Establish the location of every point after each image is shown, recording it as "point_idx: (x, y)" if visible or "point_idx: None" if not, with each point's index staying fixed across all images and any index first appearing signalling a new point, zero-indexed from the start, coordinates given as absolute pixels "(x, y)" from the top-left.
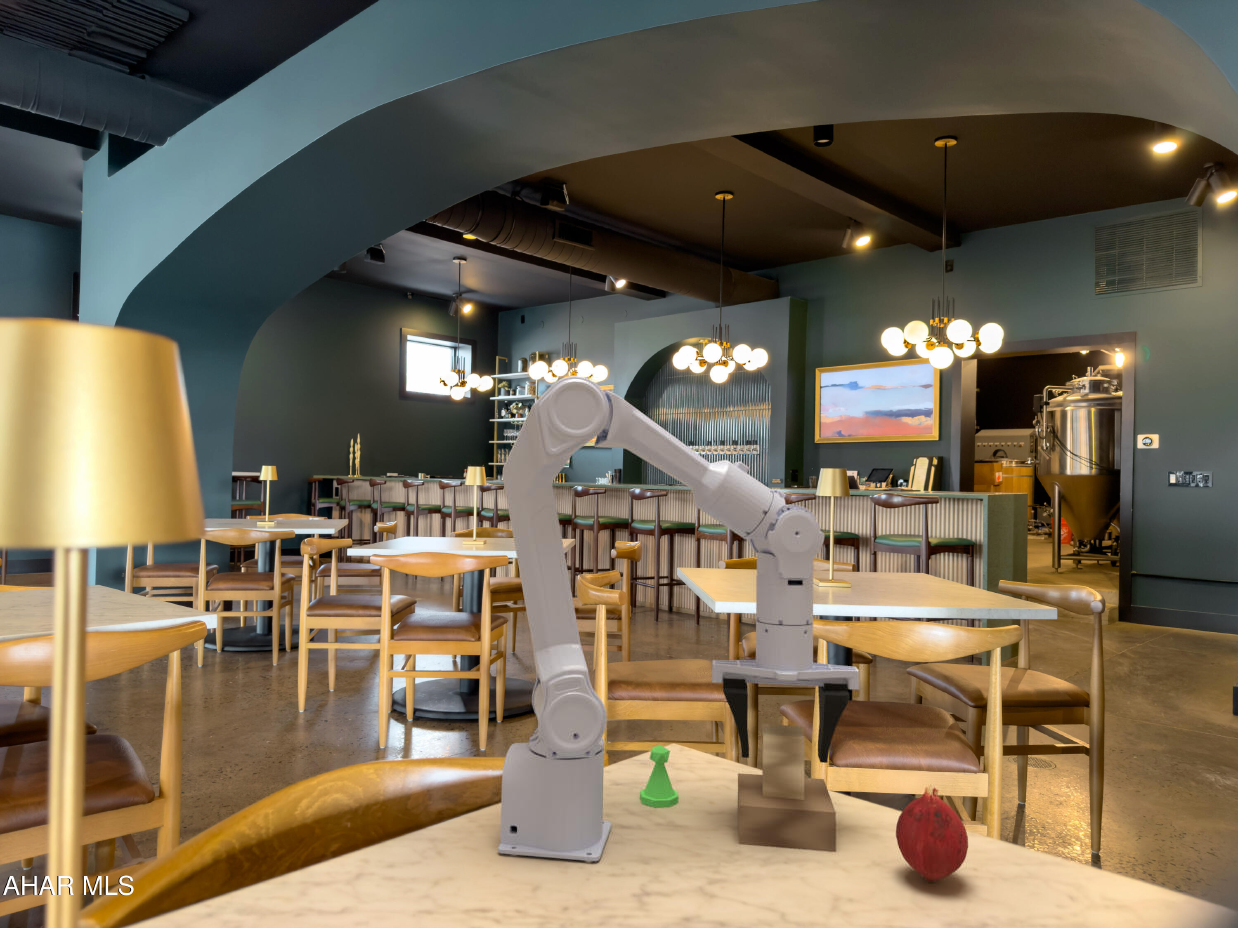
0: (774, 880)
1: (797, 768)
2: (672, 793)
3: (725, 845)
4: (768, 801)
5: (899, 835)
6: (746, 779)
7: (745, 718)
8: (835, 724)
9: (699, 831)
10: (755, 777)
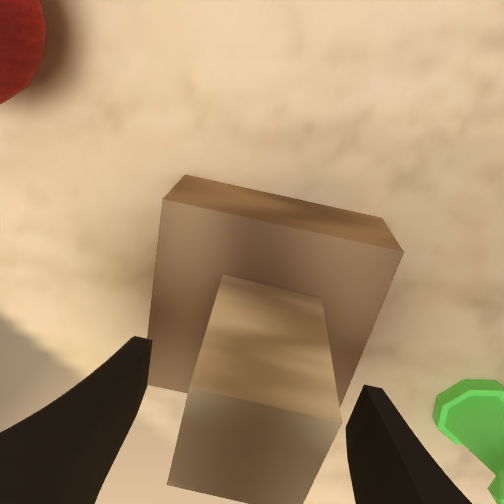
0: (366, 37)
1: (229, 322)
2: (456, 410)
3: (413, 212)
4: (316, 272)
5: (23, 8)
6: None
7: (425, 494)
8: (42, 410)
9: (444, 277)
10: None
